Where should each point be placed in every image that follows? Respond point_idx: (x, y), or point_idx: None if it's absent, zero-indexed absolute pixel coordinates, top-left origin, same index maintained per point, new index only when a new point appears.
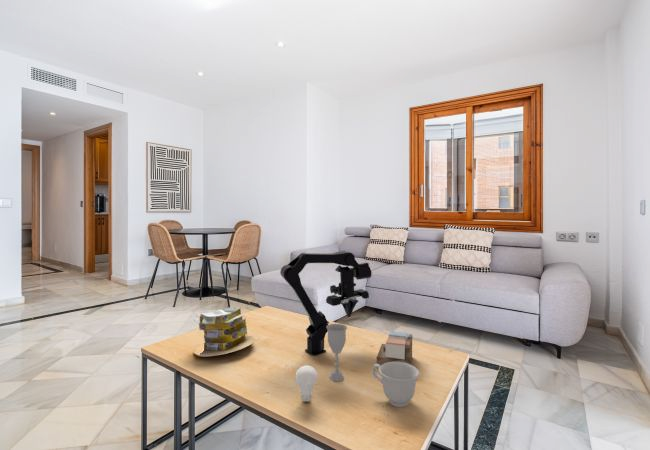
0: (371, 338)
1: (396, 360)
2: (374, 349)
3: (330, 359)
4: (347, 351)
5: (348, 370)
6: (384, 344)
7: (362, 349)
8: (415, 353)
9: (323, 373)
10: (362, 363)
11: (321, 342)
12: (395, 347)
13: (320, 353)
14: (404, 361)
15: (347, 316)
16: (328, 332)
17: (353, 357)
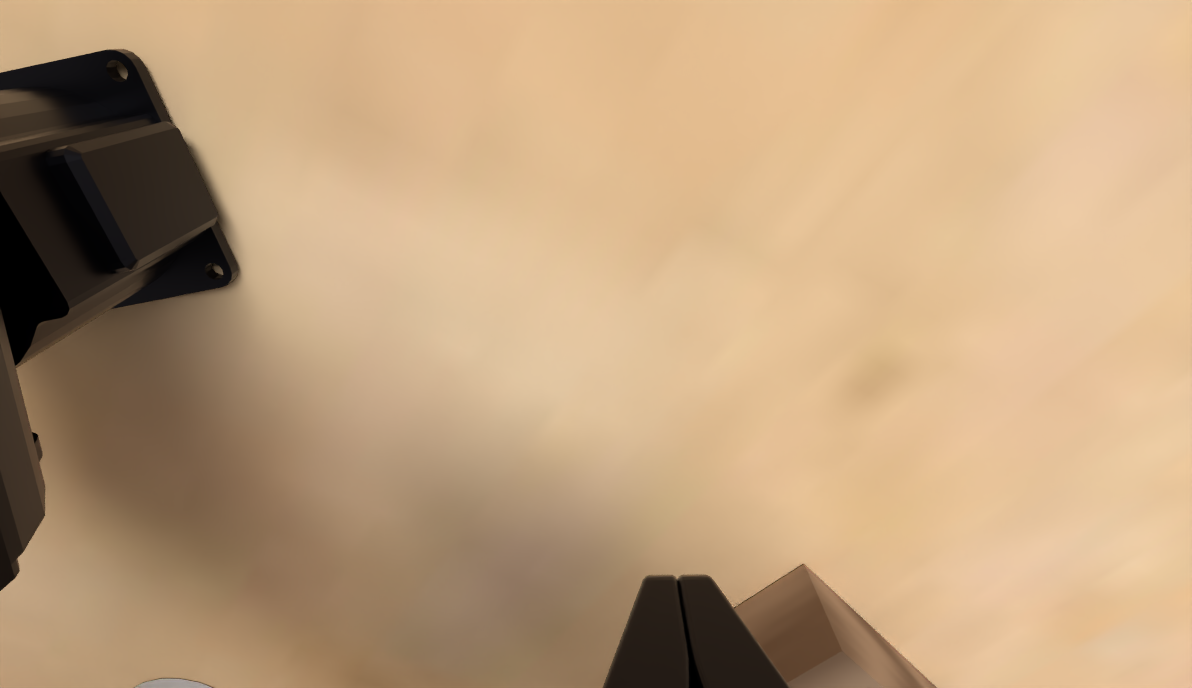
0: (1079, 182)
1: None
2: (817, 468)
3: (233, 461)
4: (512, 381)
5: (324, 672)
6: (848, 672)
7: (704, 413)
8: (1041, 666)
9: (86, 638)
10: (504, 632)
11: (69, 333)
12: None
13: (140, 301)
14: None
15: (641, 592)
16: None
17: (493, 520)
